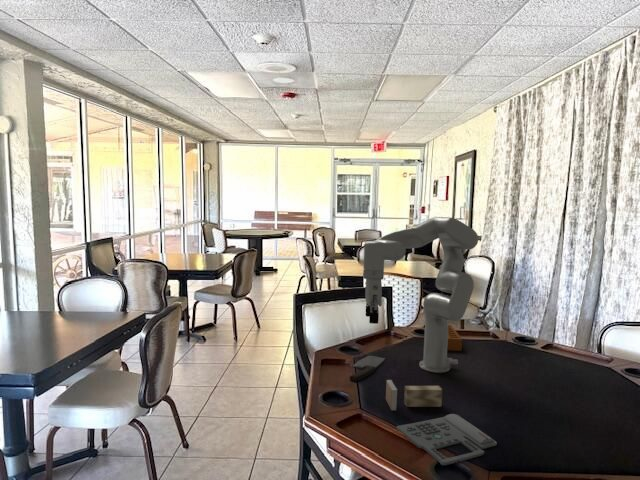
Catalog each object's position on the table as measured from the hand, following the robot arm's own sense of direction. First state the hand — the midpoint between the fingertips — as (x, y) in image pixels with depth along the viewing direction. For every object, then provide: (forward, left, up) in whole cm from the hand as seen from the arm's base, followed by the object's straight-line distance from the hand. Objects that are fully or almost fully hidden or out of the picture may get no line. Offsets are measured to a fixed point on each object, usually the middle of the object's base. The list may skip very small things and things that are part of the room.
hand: (371, 319), depth 156 cm
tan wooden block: (-15, +17, -25) cm, 34 cm away
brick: (-48, -50, -25) cm, 74 cm away
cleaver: (-1, -16, -25) cm, 30 cm away
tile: (-4, +17, -25) cm, 30 cm away
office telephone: (-16, +38, -26) cm, 48 cm away
